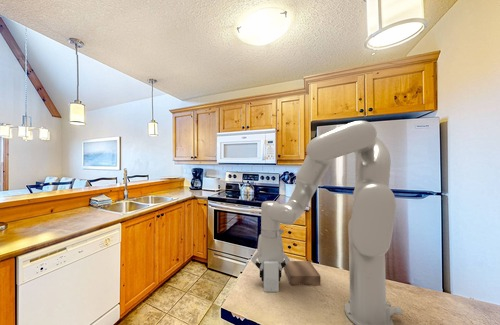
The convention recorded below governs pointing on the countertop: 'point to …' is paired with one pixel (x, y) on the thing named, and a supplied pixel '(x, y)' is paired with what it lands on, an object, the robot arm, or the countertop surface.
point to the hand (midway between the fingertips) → (270, 278)
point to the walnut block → (302, 273)
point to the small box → (271, 276)
